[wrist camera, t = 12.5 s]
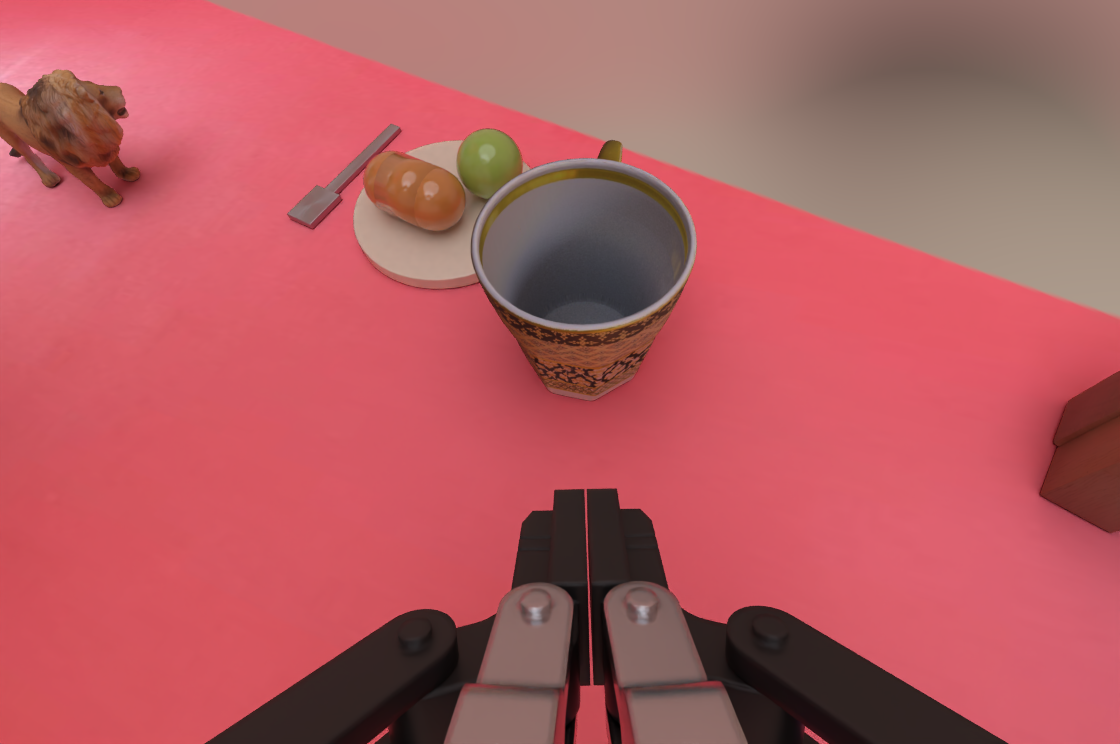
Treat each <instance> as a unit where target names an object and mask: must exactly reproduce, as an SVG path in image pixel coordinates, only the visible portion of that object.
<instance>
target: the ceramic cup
mask: <svg viewBox="0 0 1120 744" xmlns="http://www.w3.org/2000/svg"><path fill="white" fill-rule="evenodd" d="M621 159H622V144H621V143H620V142H619V141H615V140H610V141H607V142H606V143H605V144H604V145H603V147H602V149H601V151H600V153H599V155H598V158H597V159H594V158H579V159H567V160H560V161H556V162H551V163H547V164H544V165H541V166H538V167H535V168H533V169H530V170H528V171H526V172H524V173H522V174H520V175H518V176H516V177H515V178H513V179H511V180H510V181H508V182H507V183H506V184H504V185H503V186H502V187H500V188H499V189H498V190H497V191H496V192H495V193H494V194H493V195H492V196H491V197H490V199H489V200H488V201H487V202H486V203H485V205H484V207H483V208H482V210H481V211H480V213H479V215H478V217H477V219H476V221H475V224H474V227H473V231H472V236H471V259H472V264H473V268H474V270H475V273H476V275H477V278H478V280H479V282H480V284H481V286H482V288H483V290H484V292H485V294H486V295H487V297H488V299H489V301H490V302H491V304H492V306H493V307H494V309H495V310H496V312H497V314H498V315H499V317H500V318H501V320H502V321H503V323H504V324H505V325H506V327H507V328H508V329H509V331H510V332H511V333H512V334H513V336H514V337H515V338H516V340H517V341H518V343H519V345H520V347H521V349H522V351H523V353H524V354H525V356H526V358H527V359H528V361H529V362H530V364H531V365H532V367H533V368H534V370H535V371H536V373H537V374H538V376H539V377H540V379H541V380H542V382H543V383H544V385H545V386H546V388H547V389H548V390H549V391H550V392H552V393H554V394H559V395H564V396H568V397H573V398H578V399H583V400H588V401H593V400H596V399H598V398H599V397H601V396H603V395H605V394H606V393H608V392H610V391H612V390H614V389H615V388H617V387H619V386H621V385H622V384H624V383H626V382H628V381H629V380H631V379H632V378H633V377H634V375H635V374H636V372H637V371H638V369H639V367H640V364H641V362H642V361H643V359H644V357H645V356H646V354H647V352H648V350H649V348H650V347H651V345H652V343H653V341H654V339H655V337H656V335H657V334H658V332H659V331H660V330H661V328H662V327H663V325H664V324H665V322H666V321H667V319H668V317H669V315H670V314H671V312H672V310H673V308H674V306H675V305H676V303H677V301H678V299H679V297H680V295H681V293H682V291H683V289H684V286H685V284H686V282H687V280H688V277H689V275H690V273H691V270H692V268H693V265H694V261H695V256H696V248H697V241H696V231H695V226H694V223H693V220H692V218H691V215H690V213H689V211H688V209H687V207H686V206H685V205H684V203H683V202H682V200H681V199H680V198H679V196H678V195H677V194H676V193H675V192H674V191H673V190H672V189H671V188H670V187H669V186H667V185H666V184H665V183H663V182H662V181H661V180H659V179H658V178H656V177H655V176H653V175H651V174H649V173H647V172H645V171H643V170H641V169H639V168H636V167H634V166H631V165H628V164H625V163H621Z"/></svg>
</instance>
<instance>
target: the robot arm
mask: <svg viewBox="0 0 1120 744" xmlns="http://www.w3.org/2000/svg"><path fill="white" fill-rule="evenodd" d="M587 517H588V557H589V584H590V608H591V633H592V657H593V681H594V685H604V688H605V710H606V730H607V737H608V743H609V744H819V743H818V742H817V741H815V740H814V739H813V738H811V737H810V736H809V735H807V734H806V733H805V732H804V729H805V726H806V727H807V728H809V729H810V730H811V731H813V732H814V733H815V734H817V735H818V736H819V737H821V738H822V739H823V740H825V741H826V742H827V743H829V744H1008V743H1007V742H1005V741H1003V740H1002V739H1000V738H998V737H996V736H995V735H993V734H991V733H990V732H988V731H986V730H985V729H983V728H981V727H980V726H978V725H976V724H975V723H973V722H971V721H969V720H968V719H966V718H964V717H963V716H961V715H959V714H958V713H956V712H954V711H953V710H951V709H949V708H947V707H946V706H944V705H942V704H941V703H939V702H937V701H936V700H934V699H932V698H931V697H929V696H927V695H926V694H924V693H922V692H920V691H919V690H917V689H915V688H914V687H912V686H910V685H909V684H907V683H905V682H904V681H902V680H900V679H899V678H897V677H895V676H893V675H892V674H890V673H888V672H887V671H885V670H883V669H882V668H880V667H878V666H877V665H875V664H873V663H871V662H870V661H868V660H866V659H865V658H863V657H861V656H860V655H858V654H856V653H855V652H853V651H851V650H850V649H848V648H846V647H844V646H843V645H841V644H839V643H838V642H836V641H834V640H833V639H831V638H829V637H828V636H826V635H824V634H823V633H821V632H819V631H817V630H816V629H814V628H812V627H811V626H809V625H807V624H806V623H804V622H802V621H801V620H799V619H797V618H795V617H794V616H792V615H790V614H788V613H786V612H784V611H781V610H779V609H775V608H772V607H766V606H749V607H744V608H742V609H739V610H737V611H735V612H734V613H733V614H732V615H731V616H730V618H729V619H728V622H727V624H723V623H719V622H714V621H710V620H706V619H702V618H699V617H697V616H694V615H692V614H690V613H688V612H687V611H685V610H684V609H682V608H681V607H680V604H679V602H678V600H677V598H676V597H675V595H674V594H673V593H672V592H670V591H669V589H668V585H667V581H666V577H665V573H664V569H663V565H662V560H661V556H660V552H659V548H658V544H657V540H656V537H655V532H654V528H653V524H652V520H651V519H650V518H649V517H648V516H647V515H646V514H645V513H644V512H643V511H642V510H641V509H620V506H619V500H618V493H617V489H587ZM580 686H590V658H589V618H588V580H587V552H586V525H585V497H584V489H572V490H555V491H554V505H553V511H532V513H531V514H530V515H529V516H528V517H527V518H526V519H525V520H524V522H523V523H522V527H521V533H520V539H519V546H518V552H517V558H516V564H515V570H514V576H513V582H512V588H511V591H510V592H508V593H507V594H506V595H505V596H504V597H503V598H502V600H501V602H500V604H499V607H498V610H497V613H496V614H495V615H493V616H491V617H490V618H488V619H485V620H483V621H481V622H477V623H474V624H470V625H466V626H462V627H459V628H456V625H455V623H454V621H453V620H452V618H451V617H450V616H448V615H447V614H445V613H443V612H441V611H438V610H432V609H421V610H415V611H410V612H407V613H404V614H402V615H400V616H398V617H396V618H394V619H393V620H391V621H389V622H388V623H386V624H385V625H383V626H382V627H380V628H379V629H377V630H376V631H374V632H373V633H371V634H370V635H368V636H367V637H365V638H364V639H362V640H361V641H359V642H358V643H356V644H355V645H353V646H352V647H350V648H349V649H347V650H346V651H344V652H343V653H341V654H340V655H338V656H337V657H335V658H334V659H332V660H330V661H329V662H327V663H326V664H324V665H323V666H321V667H320V668H318V669H317V670H315V671H314V672H312V673H311V674H309V675H308V676H306V677H305V678H303V679H302V680H300V681H299V682H297V683H296V684H294V685H293V686H291V687H290V688H288V689H287V690H285V691H284V692H282V693H281V694H279V695H278V696H276V697H275V698H273V699H272V700H270V701H268V702H267V703H265V704H264V705H262V706H261V707H259V708H258V709H256V710H255V711H253V712H252V713H250V714H249V715H247V716H246V717H244V718H243V719H241V720H240V721H238V722H237V723H235V724H234V725H232V726H231V727H229V728H228V729H226V730H225V731H223V732H222V733H220V734H219V735H217V736H216V737H214V738H213V739H211V740H210V741H208V742H206V743H205V744H367V743H369V742H370V741H371V740H372V739H373V738H375V737H376V736H377V735H378V734H380V733H381V732H382V731H383V730H384V729H386V728H387V727H388V729H389V732H388V733H387V734H385V735H384V736H383V737H382V738H381V739H379V740H378V741H377V742H376V743H375V744H576V737H577V712H578V710H579V707H580Z"/></svg>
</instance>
